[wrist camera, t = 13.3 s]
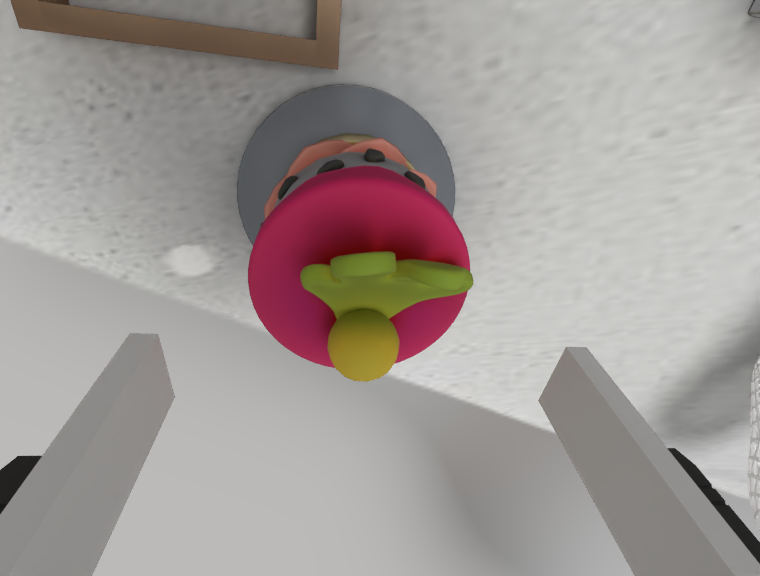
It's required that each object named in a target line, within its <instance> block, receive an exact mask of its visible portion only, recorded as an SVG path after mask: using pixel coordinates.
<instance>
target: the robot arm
mask: <svg viewBox="0 0 760 576" xmlns="http://www.w3.org/2000/svg"><path fill="white" fill-rule="evenodd" d="M174 397H175V396H174V392H173V389H172V385H171V381H170V377H169V373H168V370H167V366H166V362H165V358H164V355H163V351H162V347H161V343H160V339H159V336H158V334H140V333H130V334H129V335H128V337H127V338H126V340H125V341H124V343H123V344H122V345H121V347H120V348H119V349H118V351H117V352H116V354H115V355H114V356H113V358H112V359H111V361H110V362H109V363H108V365H107V366H106V368H105V369H104V371H103V372H102V373H101V375H100V376H99V377H98V379H97V380H96V382H95V383H94V384H93V386H92V387H91V389H90V390H89V391H88V393H87V394H86V396H85V397H84V398H83V400H82V401H81V402H80V404H79V405H78V407H77V408H76V409H75V411H74V412H73V414H72V415H71V417H70V418H69V419H68V421H67V422H66V424H65V425H64V426H63V428H62V429H61V431H60V432H59V433H58V435H57V436H56V437H55V439H54V440H53V442H52V443H51V444H50V446H49V447H48V449H47V450H46V451H45V453H44V454H43V456H17V457H16V458H15V459H14V460H12V461H11V462H10V463H9V464H7V465H6V466H5V467H4V468H2V469H1V470H0V576H92V575H93V572H94V570H95V568H96V566H97V564H98V562H99V559H100V557H101V555H102V553H103V551H104V549H105V546H106V544H107V542H108V540H109V538H110V536H111V534H112V531H113V529H114V527H115V525H116V523H117V521H118V518H119V516H120V514H121V512H122V510H123V507H124V505H125V503H126V501H127V499H128V497H129V495H130V493H131V490H132V488H133V486H134V484H135V482H136V479H137V477H138V475H139V473H140V471H141V468H142V466H143V464H144V462H145V460H146V458H147V456H148V454H149V451H150V449H151V447H152V445H153V443H154V441H155V438H156V436H157V434H158V432H159V430H160V428H161V425H162V423H163V421H164V419H165V417H166V415H167V413H168V410H169V408H170V406H171V404H172V402H173V400H174ZM538 401H539V402H540V404H541V406H542V408H543V410H544V411H545V413H546V415H547V417H548V419H549V421H550V422H551V424H552V426H553V428H554V430H555V432H556V433H557V435H558V437H559V439H560V440H561V442H562V444H563V446H564V448H565V450H566V452H567V453H568V455H569V457H570V459H571V461H572V462H573V464H574V466H575V468H576V470H577V471H578V473H579V475H580V477H581V479H582V480H583V483H584V484H585V486H586V488H587V490H588V492H589V493H590V495H591V497H592V499H593V501H594V503H595V504H596V506H597V508H598V510H599V512H600V513H601V515H602V517H603V519H604V521H605V522H606V524H607V526H608V528H609V530H610V532H611V534H612V535H613V537H614V539H615V541H616V543H617V544H618V546H619V548H620V550H621V552H622V554H623V555H624V557H625V559H626V561H627V563H628V564H629V566H630V568H631V570H632V572H633V574H634V575H635V576H760V542H759V541H758V540H757V539H756V537H755V536H754V535H753V534H752V533H751V531H750V530H749V529H748V528H747V527H746V526H745V524H744V523H743V522H742V521H741V519H740V518H739V517H738V516H737V515H736V513H735V512H734V511H733V510H732V509H731V507H730V506H729V505H726V504H725V500H724V499H723V498H722V497H721V495H720V494H719V493H718V492H717V491H716V489H713V488H712V487H711V483H710V482H709V481H708V480H707V479H706V477H705V476H704V475H703V474H702V473H701V471H700V470H699V469H698V468H697V467H696V465H694V464H693V463H692V462H691V461H690V460H688V459H687V458H686V457H685V456H684V455H682V454H681V453H680V452H679V451H677V450H676V449H675V448H667V447H666V446H665V445H664V444H663V442H662V441H661V440H660V439H659V437H658V436H657V435H656V434H655V432H654V431H653V430H652V429H651V427H650V426H649V425H648V424H647V422H646V421H645V420H644V419H643V417H642V416H641V415H640V414H639V412H638V411H637V410H636V409H635V407H634V406H633V405H632V404H631V402H630V401H629V400H628V399H627V397H626V396H625V395H624V394H623V392H622V391H621V390H620V389H619V387H618V386H617V385H616V384H615V382H614V381H613V380H612V379H611V377H610V376H609V375H608V374H607V372H606V371H605V370H604V369H603V367H602V366H601V365H600V364H599V362H598V361H597V360H596V359H595V357H594V356H593V355H592V354H591V352H590V351H589V350H588V349H587V347H566V348H565V350H564V352H563V354H562V356H561V358H560V360H559V362H558V364H557V366H556V368H555V370H554V371H553V373H552V375H551V377H550V379H549V381H548V383H547V385H546V387H545V389H544V391H543V393H542V395H541V397H540V398H539V400H538Z"/></svg>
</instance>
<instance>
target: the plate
mask: <svg viewBox="0 0 760 576" xmlns="http://www.w3.org/2000/svg"><path fill="white" fill-rule="evenodd" d="M344 133H354V134H365V135H372V136H374V137H376V138H380V137H382V138H383V139H385V140H387V141H388V142H390V143H392V144H393V145H395V146H396V147H397V148H398V149H399V150H400V152H401V153H402V154H403V155H404V156H405V157H406V158H407V159H408V160H409V161H410V162H411V164H412V166H413V167H414V169H415V170H416V171H418V172H421V173H423V174H426V175H427V176H428V177H430V178H431V179H432V180H433V181H434V182H435V183H436V184H437V189H436V199H438V200H439V201H440V202H441V203H442V204H443V205H444V206H445V207H446V209H447V210H448V212H449V213H450V214H451V216H453V210H454V204H455V182H454V174H453V170H452V166H451V162H450V159H449V157H448V154H447V152H446V149H445V147H444V145H443V144H442V142H441V140H440V138H439V136H438V135H437V134H436V132H435V131H434V130H433V128H432V127H431V126H430V124H429V123H428V122H427V121H426V120H425V119H424V118H423V117H422V116H421V115H420V114H419V113H418V112H416V111H415V110H414V109H412V108H411V107H410V106H408V105H407V104H405V103H404V102H403V101H401V100H399V99H397V98H395V97H394V96H392V95H390V94H388V93H385V92H382V91H379V90H377V89H374V88H369V87H364V86H359V85H343V84H341V85H331V86H324V87H320V88H316V89H312V90H309V91H307V92H304V93H302V94H300V95H297V96H295V97H294V98H292V99H290V100H289V101H287V102H285V103H284V104H282V105H281V106H280V107H279V108H278V109H276V110H275V111H274V112H273V113H272V114H271V115H270V116H269V117H268V118H267V119H266V120H265V121H264V122H263V123H262V125H261V126H260V127H259V128H258V129H257V131H256V132H255V134H254V135H253V137H252V138H251V140H250V142H249V144H248V146H247V148H246V150H245V153H244V155H243V158H242V161H241V165H240V168H239V174H238V182H237V200H238V207H239V213H240V216H241V220H242V223H243V226H244V229H245V231H246V233H247V235H248V238H249V240H250V241H251V243H252V244H253V245H254V242H255V239H256V237H257V234H258V232H259V230H260V227H261V223H262V222H264V220H265V216H264V206H265V205H266V203H267V201H268V199H269V197H270V195H271V193H272V191H273V189H274V188H275V186H276V185H277V184H278V183H279V182H280V181H281V180H282V179H283V177H284V176H285V175H286V174H287V173H288V170H289V168H290V166H291V165H292V163H293V162H294V160H295V159H296V158H297V156H298V155H299V154H300V152H301V151H302V149H303V148H304V147H307V146H310V145H313V144H315V143H317V142H318V141H320V140H321V139H324V138H328V137H332V136H336V135H340V134H344Z"/></svg>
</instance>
